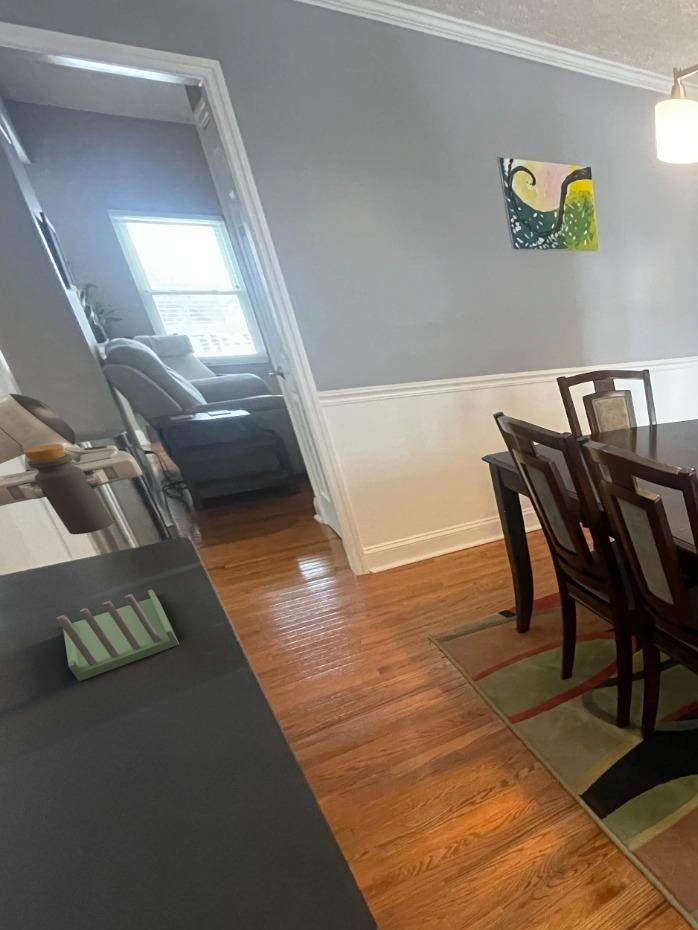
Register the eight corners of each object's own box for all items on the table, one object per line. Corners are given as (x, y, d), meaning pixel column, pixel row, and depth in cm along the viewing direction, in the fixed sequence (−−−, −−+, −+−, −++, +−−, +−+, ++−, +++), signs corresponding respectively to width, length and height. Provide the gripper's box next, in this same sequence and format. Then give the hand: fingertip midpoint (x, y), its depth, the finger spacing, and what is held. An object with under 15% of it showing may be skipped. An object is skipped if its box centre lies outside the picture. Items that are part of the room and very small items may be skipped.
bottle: (61, 533, 106) (8, 452, 99) (99, 520, 111) (51, 442, 104) (84, 535, 105) (32, 454, 98) (122, 522, 110) (75, 443, 103)
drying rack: (79, 681, 83) (39, 627, 79) (70, 631, 95) (35, 581, 91) (179, 644, 91) (148, 593, 86) (159, 602, 103) (131, 555, 98)
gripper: (-33, 471, 104) (-36, 488, 96) (125, 442, 117) (134, 455, 109) (-10, 505, 107) (-11, 523, 99) (141, 473, 120) (151, 487, 112)
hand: (66, 487), depth 104 cm, fingers closed on bottle, 5 cm apart
